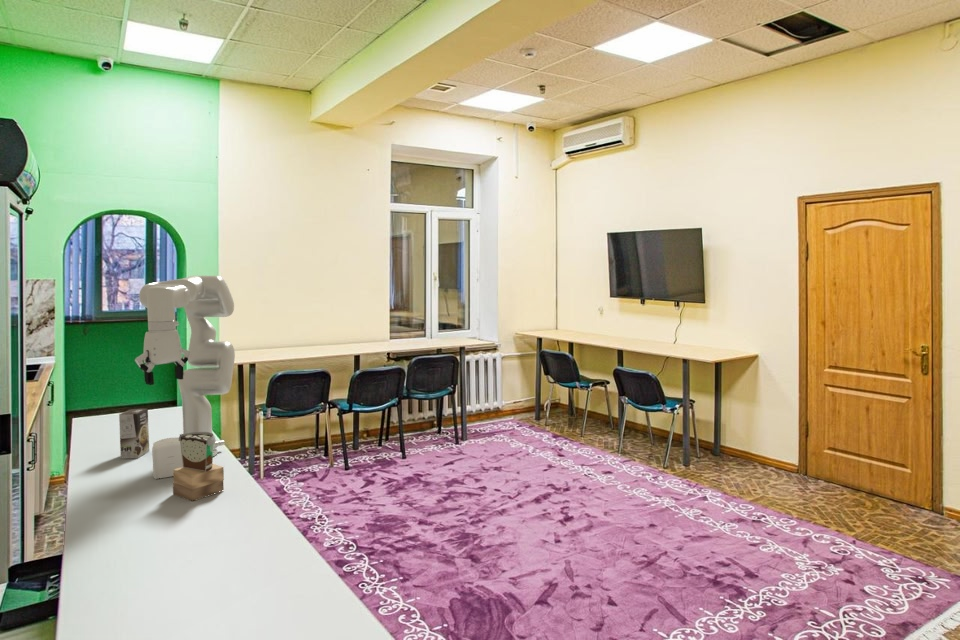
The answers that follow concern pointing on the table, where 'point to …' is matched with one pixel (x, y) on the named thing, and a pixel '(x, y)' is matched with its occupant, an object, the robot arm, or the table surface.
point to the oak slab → (198, 476)
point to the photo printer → (166, 457)
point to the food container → (197, 450)
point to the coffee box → (134, 433)
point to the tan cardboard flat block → (197, 490)
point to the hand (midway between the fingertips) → (164, 381)
